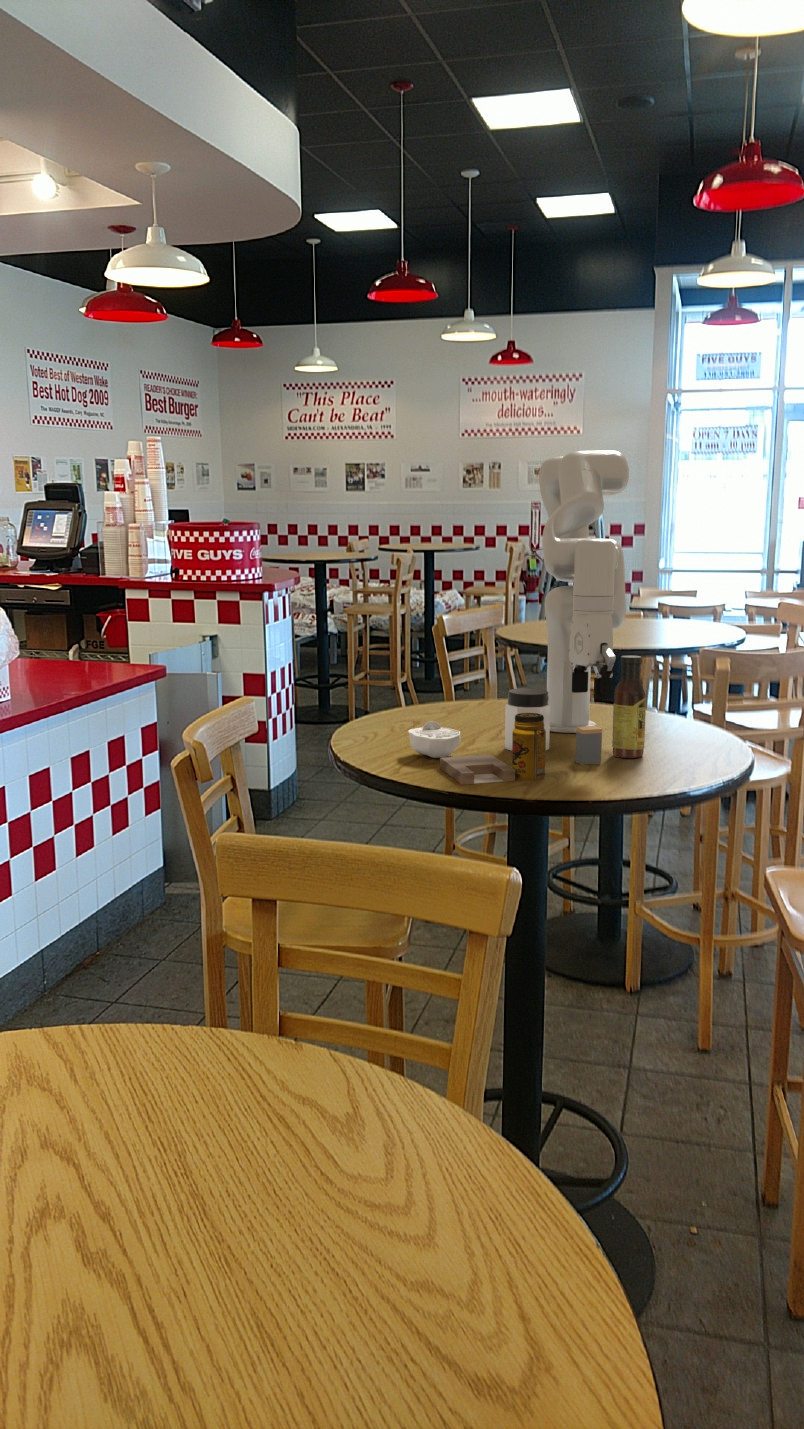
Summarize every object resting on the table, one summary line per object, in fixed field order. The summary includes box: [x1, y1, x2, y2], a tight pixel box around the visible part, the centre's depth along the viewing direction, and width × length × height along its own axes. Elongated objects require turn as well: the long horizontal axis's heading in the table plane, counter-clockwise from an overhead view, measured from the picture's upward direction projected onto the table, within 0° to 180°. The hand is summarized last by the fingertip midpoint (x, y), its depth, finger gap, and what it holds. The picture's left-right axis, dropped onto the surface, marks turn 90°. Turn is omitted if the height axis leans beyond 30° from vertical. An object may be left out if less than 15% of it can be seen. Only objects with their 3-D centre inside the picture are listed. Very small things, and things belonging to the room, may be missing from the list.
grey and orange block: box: [574, 725, 603, 766], centre depth 205 cm, size 3×4×7 cm
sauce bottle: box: [611, 655, 647, 759], centre depth 210 cm, size 7×6×20 cm
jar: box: [504, 687, 550, 752], centre depth 216 cm, size 9×8×12 cm
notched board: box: [439, 754, 516, 786], centre depth 196 cm, size 13×10×2 cm
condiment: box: [511, 713, 547, 782], centre depth 194 cm, size 7×8×12 cm
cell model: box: [407, 720, 462, 759], centre depth 211 cm, size 10×12×7 cm
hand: (590, 695), depth 203 cm, fingers open, 9 cm apart
